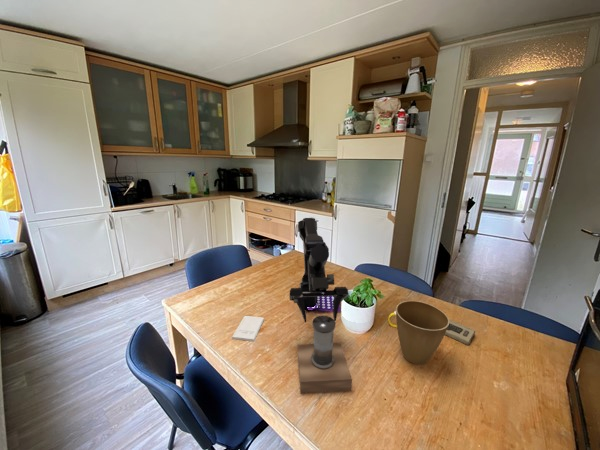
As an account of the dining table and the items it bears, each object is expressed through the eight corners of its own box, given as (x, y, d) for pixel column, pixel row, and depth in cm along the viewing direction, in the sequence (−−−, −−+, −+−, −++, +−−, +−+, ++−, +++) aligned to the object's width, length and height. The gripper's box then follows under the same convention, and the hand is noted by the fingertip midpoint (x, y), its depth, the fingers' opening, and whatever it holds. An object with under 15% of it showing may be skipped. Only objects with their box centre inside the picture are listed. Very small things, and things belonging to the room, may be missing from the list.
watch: (403, 326, 97) (406, 313, 96) (403, 331, 95) (406, 317, 93) (387, 322, 99) (390, 309, 98) (387, 326, 97) (389, 313, 95)
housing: (318, 348, 80) (319, 312, 76) (337, 358, 76) (340, 320, 73) (306, 362, 74) (307, 324, 71) (327, 373, 71) (329, 333, 67)
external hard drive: (264, 321, 100) (254, 343, 88) (244, 319, 101) (231, 340, 90) (264, 317, 100) (253, 339, 88) (244, 315, 101) (231, 336, 89)
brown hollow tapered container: (381, 347, 86) (385, 306, 82) (414, 336, 92) (419, 296, 88) (416, 382, 73) (424, 335, 69) (452, 366, 78) (461, 321, 74)
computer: (421, 325, 98) (422, 318, 97) (429, 317, 104) (430, 309, 103) (467, 347, 87) (469, 339, 86) (474, 336, 93) (476, 328, 92)
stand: (297, 355, 82) (297, 344, 81) (339, 353, 83) (340, 342, 82) (300, 393, 69) (300, 381, 68) (351, 391, 70) (352, 379, 69)
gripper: (289, 265, 78) (290, 318, 71) (348, 264, 80) (356, 315, 72) (289, 276, 88) (290, 324, 81) (341, 275, 89) (347, 322, 82)
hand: (320, 321), depth 78 cm, fingers open, 9 cm apart
